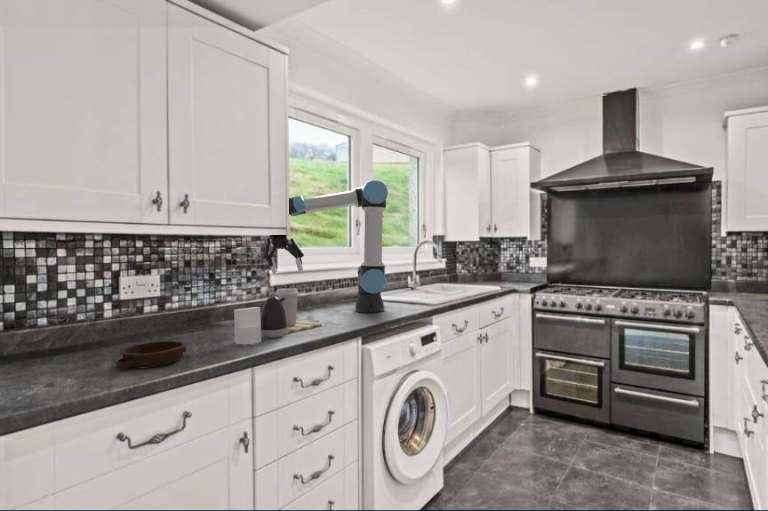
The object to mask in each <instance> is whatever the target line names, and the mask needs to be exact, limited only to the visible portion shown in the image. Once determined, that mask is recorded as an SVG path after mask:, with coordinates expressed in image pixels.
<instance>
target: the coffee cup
mask: <svg viewBox="0 0 768 511" xmlns="http://www.w3.org/2000/svg"><path fill="white" fill-rule="evenodd" d="M299 294H300V293H299V291H298V288H295V287H291V288H289V287H288V288H287V287H285V288H284V287H283V288H278V289H277V290H276V292H275V296H276V297H277V298H278V299H281V298H283V297H284V298H285V300H284V301H283V302H281V303H282V305H283V307H284V310H285V313H286V318H287V326H294V325H296V321H297V314H298V313H297V312H298V311H297V310H298V298H299V297H298V295H299Z"/></svg>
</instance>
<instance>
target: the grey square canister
mask: <svg viewBox="0 0 768 511" xmlns="http://www.w3.org/2000/svg"><path fill="white" fill-rule="evenodd" d="M233 313H234V314H233V315H234V317H233V319H234V344H235V343H236V344H235V345H237V344H251V345H256V344H255V343H257V344H260V343H262V333H261V321H260V317H261V307H259V306H254V307H253V306H252V307H245V308H237V309H233ZM259 342H260V343H259Z"/></svg>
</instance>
